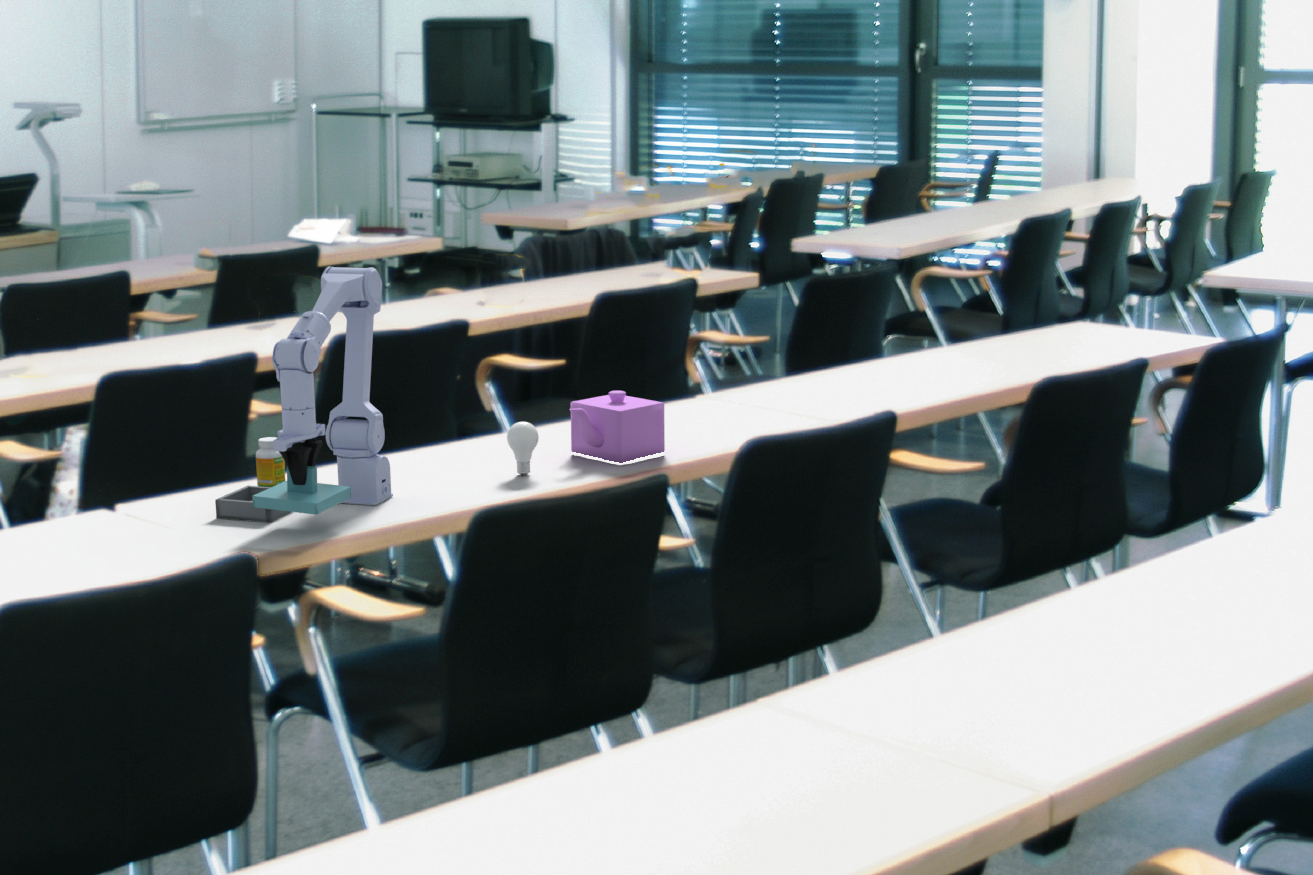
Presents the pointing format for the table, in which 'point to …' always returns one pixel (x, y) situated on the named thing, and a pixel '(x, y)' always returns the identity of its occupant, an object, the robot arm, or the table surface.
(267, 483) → the supplement bottle
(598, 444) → the teapot
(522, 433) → the lightbulb
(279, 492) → the lid
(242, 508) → the tub
